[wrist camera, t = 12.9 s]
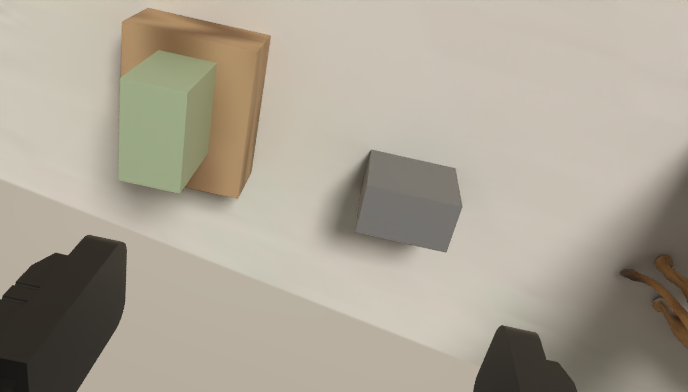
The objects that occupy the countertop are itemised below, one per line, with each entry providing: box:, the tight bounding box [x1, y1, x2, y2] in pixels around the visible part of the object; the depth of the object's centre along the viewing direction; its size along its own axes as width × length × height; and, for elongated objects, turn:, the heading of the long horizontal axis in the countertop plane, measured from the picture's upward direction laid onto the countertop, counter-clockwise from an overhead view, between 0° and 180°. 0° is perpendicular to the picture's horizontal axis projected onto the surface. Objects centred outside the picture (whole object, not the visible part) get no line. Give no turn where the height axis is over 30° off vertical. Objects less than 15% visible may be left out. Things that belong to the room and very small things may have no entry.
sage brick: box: [118, 50, 217, 194], centre depth 34 cm, size 6×4×6 cm, turn 168°
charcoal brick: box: [355, 150, 462, 252], centre depth 40 cm, size 6×4×6 cm, turn 78°
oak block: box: [121, 8, 271, 199], centre depth 39 cm, size 8×10×4 cm
